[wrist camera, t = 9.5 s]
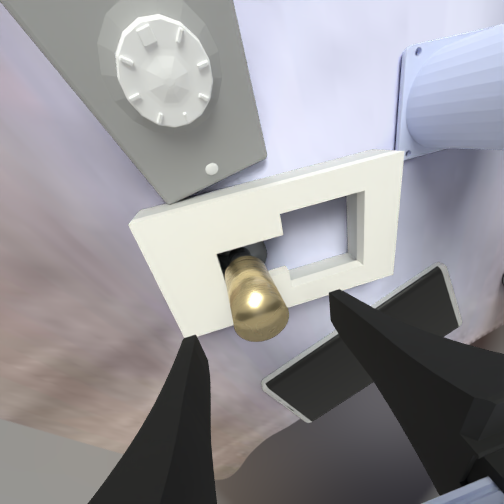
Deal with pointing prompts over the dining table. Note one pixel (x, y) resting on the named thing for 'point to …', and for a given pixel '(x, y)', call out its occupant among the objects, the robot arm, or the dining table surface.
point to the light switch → (157, 82)
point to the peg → (253, 293)
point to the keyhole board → (271, 235)
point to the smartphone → (342, 359)
